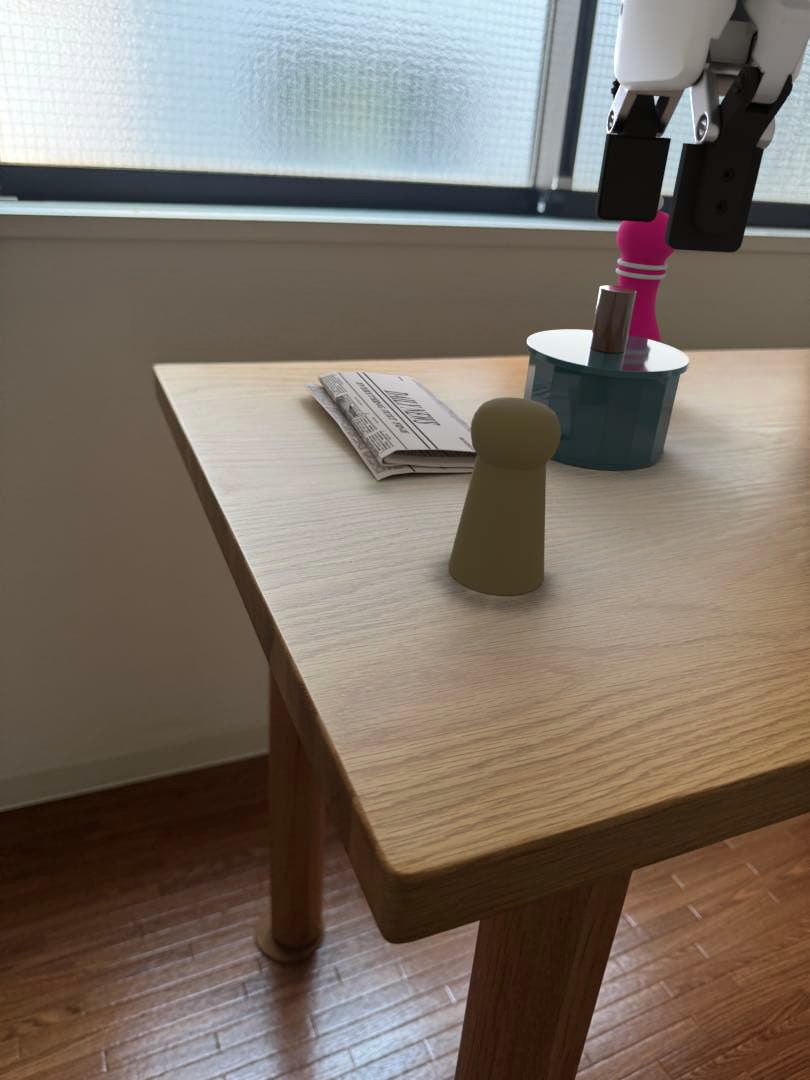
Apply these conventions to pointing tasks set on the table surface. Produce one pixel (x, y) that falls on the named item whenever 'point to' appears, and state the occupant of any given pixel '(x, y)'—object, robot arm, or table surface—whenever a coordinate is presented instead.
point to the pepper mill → (643, 269)
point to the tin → (604, 415)
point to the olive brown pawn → (506, 498)
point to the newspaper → (396, 423)
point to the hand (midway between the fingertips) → (658, 233)
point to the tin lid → (609, 344)
